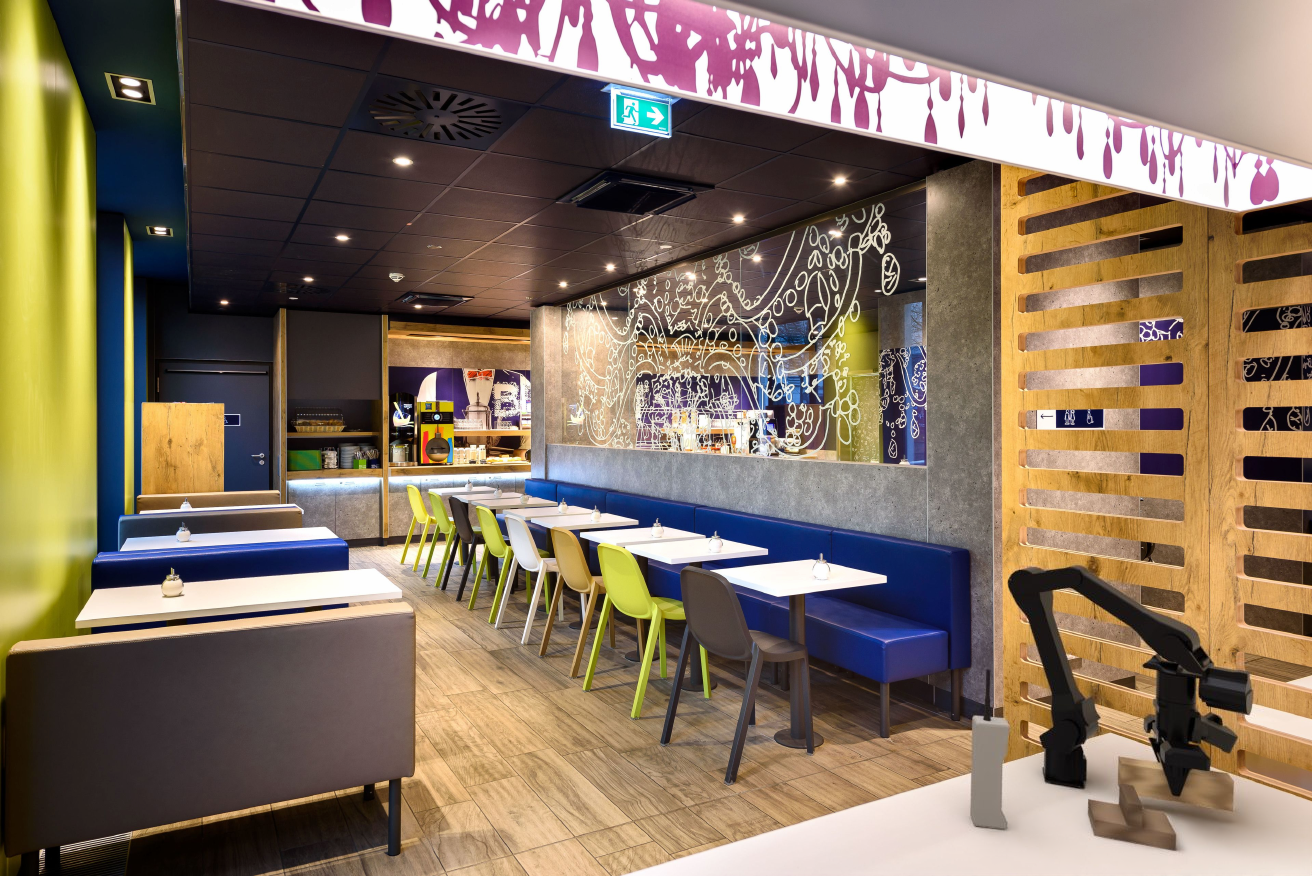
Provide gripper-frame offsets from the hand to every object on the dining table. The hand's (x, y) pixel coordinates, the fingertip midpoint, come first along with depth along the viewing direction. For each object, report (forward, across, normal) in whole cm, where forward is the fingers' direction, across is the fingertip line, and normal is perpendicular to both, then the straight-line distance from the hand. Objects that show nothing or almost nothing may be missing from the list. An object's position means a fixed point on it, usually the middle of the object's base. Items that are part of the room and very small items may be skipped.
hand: (1173, 791), depth 134 cm
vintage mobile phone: (+4, -18, +29) cm, 34 cm away
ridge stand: (+4, -11, +8) cm, 14 cm away
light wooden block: (+1, 0, 0) cm, 1 cm away
